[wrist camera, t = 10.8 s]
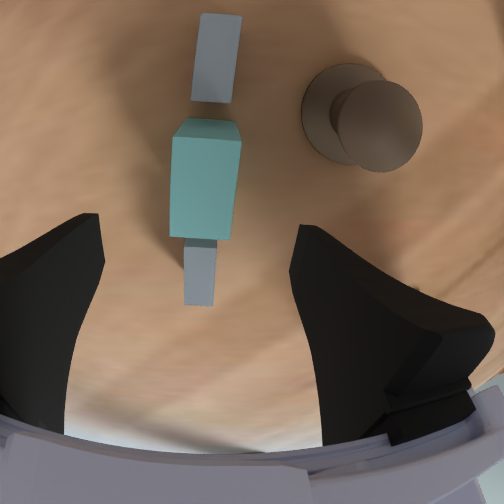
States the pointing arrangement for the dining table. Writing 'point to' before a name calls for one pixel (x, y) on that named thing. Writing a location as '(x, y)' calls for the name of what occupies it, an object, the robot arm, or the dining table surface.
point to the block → (204, 178)
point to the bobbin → (361, 118)
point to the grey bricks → (210, 90)
